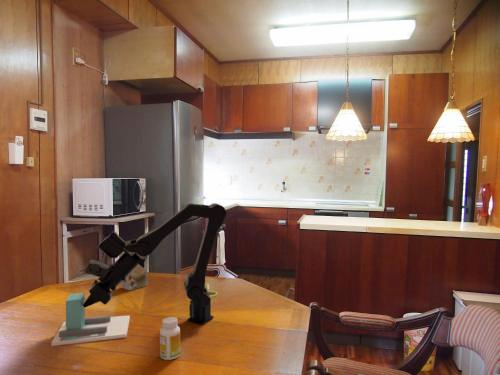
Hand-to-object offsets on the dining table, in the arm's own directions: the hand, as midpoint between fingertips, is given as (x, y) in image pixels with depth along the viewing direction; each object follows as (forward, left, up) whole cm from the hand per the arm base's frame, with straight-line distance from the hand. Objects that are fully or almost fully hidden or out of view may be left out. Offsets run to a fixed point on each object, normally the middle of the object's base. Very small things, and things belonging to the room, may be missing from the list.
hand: (84, 306), depth 106 cm
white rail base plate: (-2, -2, -8) cm, 8 cm away
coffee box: (+20, -37, -8) cm, 43 cm away
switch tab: (+2, +2, -7) cm, 7 cm away
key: (-12, -47, -9) cm, 50 cm away
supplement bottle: (-32, -3, -8) cm, 33 cm away
